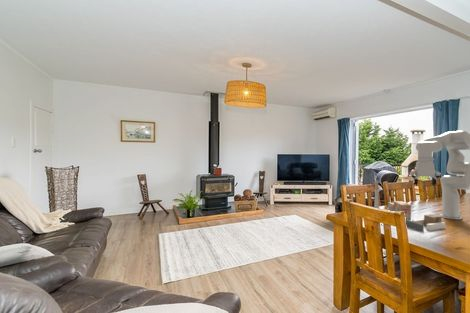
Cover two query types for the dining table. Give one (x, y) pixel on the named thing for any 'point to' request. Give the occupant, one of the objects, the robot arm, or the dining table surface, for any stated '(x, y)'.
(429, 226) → the chute rail
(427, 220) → the walnut block
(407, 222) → the bar
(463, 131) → the robot arm
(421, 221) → the chute rail
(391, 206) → the stack of blocks
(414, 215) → the dining table surface
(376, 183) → the candlestick
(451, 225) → the dining table surface
